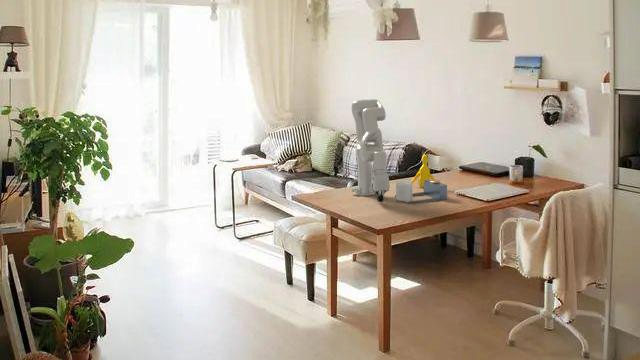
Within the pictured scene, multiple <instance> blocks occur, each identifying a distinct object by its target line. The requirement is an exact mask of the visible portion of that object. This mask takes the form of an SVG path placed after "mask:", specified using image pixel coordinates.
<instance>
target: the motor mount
mask: <svg viewBox="0 0 640 360" xmlns="http://www.w3.org/2000/svg"><path fill="white" fill-rule="evenodd" d="M417 196H418V197H419V196H428V197H430V198H425V199H416V200H412V201H408V202H407V203H408V205H415V204H422V203H423V204H424V203H429V202H439V201H440V202H441V201H445V200H448V185H447V184H445V183H443V182H441V180H439V179H436V180H432V179H430V180H424V187H423V191H421V192H412V197H417ZM394 199H396V194H395V195H394Z"/></svg>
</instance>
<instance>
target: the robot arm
mask: <svg viewBox="0 0 640 360" xmlns="http://www.w3.org/2000/svg"><path fill="white" fill-rule="evenodd" d="M351 114H352V117H353V119H354V122H355V131H356V132H355V133H356V140H357V142H358V143H359V145H358V146H357V147H356V149H355V156H356V162H357V163H356V164H357V186H356V187H355V188H351V189H350V192H351V193H355V195H357V196H360V197H361V196H362V197H364V196H365V197H366V196H373V195H377V202H378V203H383V202H384V196H385V194H386V193H388V192H389V191H390V188H391V187H390V178H389V173H387V152H386V151H385V150H384V145H383V144H384V143H383V135H382V134H383V133H382V131H381V129H380V127H379V125H378V122H382V121H385V120H386V116H387V115H386V111H385V108H384V106H383V104H382V103H381V101H380V100H379V99H375V98H372V99H356V100H354V101H353V102H352V104H351ZM367 143H368V144H367ZM369 143H373V144H369ZM371 162H373V164H371Z"/></svg>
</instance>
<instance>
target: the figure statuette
mask: <svg viewBox="0 0 640 360" xmlns="http://www.w3.org/2000/svg"><path fill="white" fill-rule="evenodd" d="M428 161H429V158H428V155H427V154H423V155H422V157H421V162H422V166H421V167H420V168H419V170H418V172H417V173H416V175H415V176H414V177H413V178H412V179H411V180H410V182H411V183H412V184H413V183H414V182H415V181H416V180H417V179H418V186H419V187H420V188H424V180H437V179H436V178H435V177H434V176H433V175H432V174H431V169H430V167H428V165H427V164H428Z"/></svg>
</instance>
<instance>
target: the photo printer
mask: <svg viewBox="0 0 640 360" xmlns="http://www.w3.org/2000/svg"><path fill="white" fill-rule="evenodd" d="M412 193H413V183H411V181H408V180H398V181H396V183H395V195H396V198H395V201H400V202H407V203H408V201H413V196H412Z"/></svg>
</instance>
